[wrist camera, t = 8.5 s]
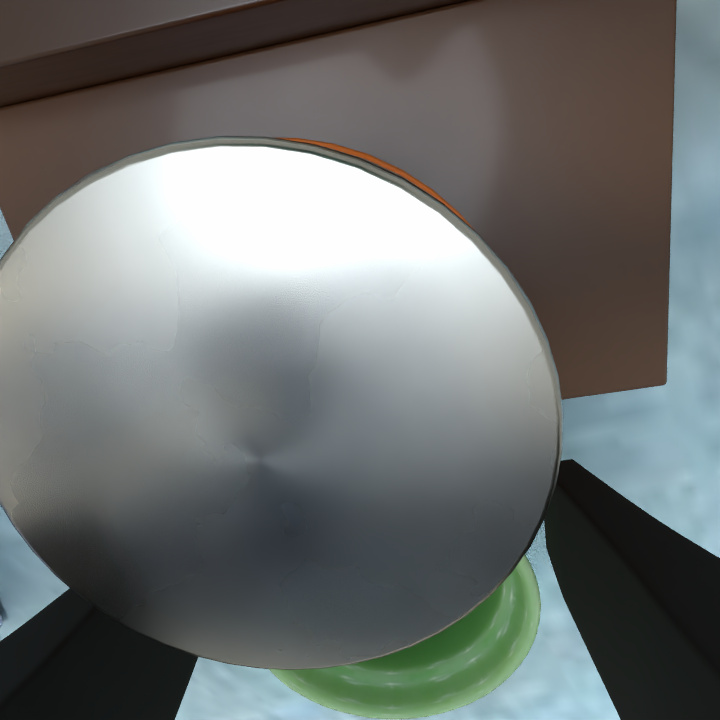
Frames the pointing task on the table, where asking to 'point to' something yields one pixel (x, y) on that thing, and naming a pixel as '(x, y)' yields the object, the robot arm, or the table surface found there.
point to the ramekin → (435, 661)
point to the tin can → (271, 402)
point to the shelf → (394, 127)
